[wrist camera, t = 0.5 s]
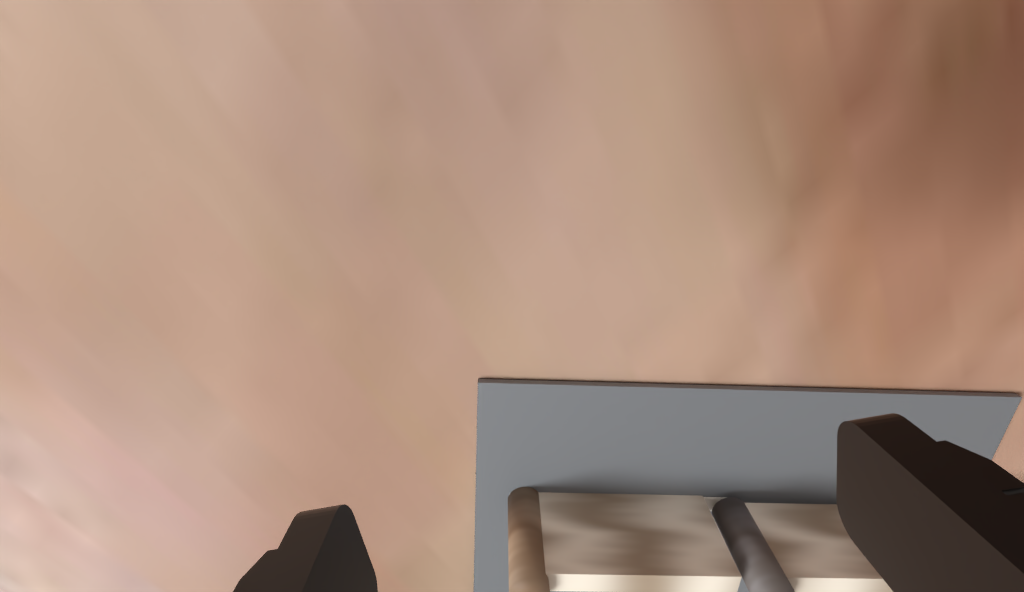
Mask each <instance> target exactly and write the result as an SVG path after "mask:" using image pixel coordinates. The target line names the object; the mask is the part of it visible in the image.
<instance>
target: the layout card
mask: <svg viewBox="0 0 1024 592" xmlns="http://www.w3.org/2000/svg"><path fill="white" fill-rule="evenodd" d="M1021 399H1022V397H1021V396H1019V395H1017V394H1016V393H986V392H949V391H912V390H875V389H839V388H802V387H765V386H728V385H691V384H654V383H617V382H580V381H543V380H506V379H478V403H477V454H476V504H475V555H474V592H509V564H508V496H509V494H510V493H511V492H512V491H513V490H514V489H516V488H519V487H531V488H533V489H535V490H537V491H538V492H550V493H599V494H649V495H698V496H703V498H704V500H705V502H706V504H707V506H708V508H709V510H710V512H711V514H712V509H713V506H714V505H715V504H716V503H717V502H718V501H720V500H721V499H724V498H727V497H736V498H739V499H741V500H742V501H743V502H744V503H788V504H837V500H836V487H837V432H838V428H839V426H840V424H841V423H842V422H844V421H849V420H855V419H861V418H867V417H873V416H879V415H885V414H891V413H895V414H899V415H901V416H903V417H905V418H906V419H908V420H909V421H910V422H912V423H913V424H914V425H915V426H917V427H918V428H919V429H921V430H922V431H923V432H925V433H926V434H927V435H929V436H930V437H931V438H933V439H934V440H935V441H936V442H938V441H944V440H946V441H949V442H951V443H953V444H956V445H958V446H960V447H962V448H965V449H967V450H969V451H972V452H974V453H976V454H979V455H981V456H983V457H985V458H988V459H990V460H992V458H993V456H994V454H995V452H996V450H997V448H998V446H999V444H1000V441H1001V439H1002V437H1003V435H1004V433H1005V431H1006V429H1007V427H1008V425H1009V423H1010V421H1011V419H1012V417H1013V415H1014V413H1015V411H1016V409H1017V407H1018V405H1019V403H1020V401H1021ZM717 527H718V526H717ZM718 529H719V528H718ZM719 531H720V530H719ZM720 533H721V532H720ZM731 556H732V555H731ZM732 558H733V557H732ZM733 560H734V559H733ZM734 562H735V561H734ZM550 592H574V591H550ZM737 592H749V590H748V588H747V586H746V584H745V582H744V580H743V578H741V581H740V585H739V588H738V591H737Z"/></svg>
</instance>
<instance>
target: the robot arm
mask: <svg viewBox="0 0 1024 592" xmlns="http://www.w3.org/2000/svg"><path fill="white" fill-rule="evenodd" d="M836 500H837V507H838V511H839V515H840V518H841V520H842V523H843V525H844V527H845V529H846V531H847V533H848V535H849V536H850V538H851V540H852V541H853V542H854V544H855V545H856V546H857V547H858V549H859V550H860V551H861V552H862V554H863V555H864V556H865V557H866V559H867V560H868V561H869V562H870V563H871V565H872V566H873V567H874V568H875V570H876V571H877V572H878V573H879V575H880V576H881V577H882V578H883V580H884V581H885V582H886V583H887V584H888V586H889V587H890V588H891V589H892V591H893V592H1024V483H1022V482H1021V481H1020V480H1018V479H1017V478H1015V477H1014V476H1013V475H1011V474H1010V473H1008V472H1007V471H1006V470H1004V469H1003V468H1001V467H1000V466H999V465H997V464H996V463H994V462H993V461H992V460H990V459H988V458H985V457H983V456H981V455H979V454H976V453H974V452H972V451H969V450H967V449H965V448H962V447H960V446H958V445H956V444H953V443H951V442H949V441H946V440H944V441H938V442H936V441H935V440H934V439H933V438H931V437H930V436H929V435H927V434H926V433H925V432H923V431H922V430H921V429H919V428H918V427H917V426H915V425H914V424H913V423H912V422H910V421H909V420H908V419H906V418H905V417H903V416H901V415H899V414H895V413H891V414H885V415H879V416H873V417H867V418H861V419H855V420H849V421H844V422H842V423H841V424H840V426H839V428H838V432H837V487H836ZM233 592H378V589H377V580H376V575H375V572H374V569H373V566H372V563H371V561H370V558H369V555H368V553H367V550H366V547H365V544H364V542H363V539H362V536H361V534H360V531H359V528H358V525H357V523H356V520H355V517H354V515H353V512H352V510H351V509H350V508H349V507H348V506H347V505H338V506H332V507H326V508H320V509H314V510H308V511H303V512H300V513H298V514H297V515H296V516H295V517H294V519H293V521H292V523H291V525H290V526H289V528H288V530H287V532H286V534H285V536H284V538H283V540H282V542H281V544H280V546H279V547H278V549H275V550H269V551H267V552H266V553H265V554H264V555H263V556H262V557H261V558H260V559H259V560H258V561H257V562H256V564H255V565H254V566H253V567H252V568H251V569H250V570H249V571H248V572H247V573H246V574H245V575H244V576H243V577H242V578H241V579H240V581H239V582H238V584H237V586H236V588H235V589H234V591H233Z"/></svg>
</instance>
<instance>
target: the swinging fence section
mask: <svg viewBox="0 0 1024 592" xmlns="http://www.w3.org/2000/svg"><path fill="white" fill-rule="evenodd" d="M712 516H713V518H714V520H715V522H716V524H717V526H718V528H719V530H720V532H721V535H722V537H723V539H724V541H725V543H726V545H727V547H728V549H729V551H730V553H731V555H732V557H733V559H734V561H735V564H736V566H737V568H738V570H739V572H740V574H741V576H742V578H743V580H744V582H745V584H746V586H747V588H748V590H749V592H893V591H892V589H891V588H890V587H889V586H888V584H887V583H886V582H885V581H884V580H883V578H882V577H881V576H880V575H879V573H878V572H877V571H876V570H875V568H874V567H873V566H872V565H871V563H870V562H869V561H868V560H867V559H866V557H865V556H864V555H863V554H862V552H861V551H860V550H859V549H858V547H857V546H856V545H855V544H854V542H853V541H852V540H851V538H850V536H849V535H848V533H847V531H846V529H845V527H844V525H843V523H842V520H841V518H840V515H839V511H838V507H837V504H788V503H744V502H743V501H742V500H741V499H739V498H736V497H727V498H724V499H721V500H720V501H718V502H717V503H716V504H715V505H714V506H713V509H712Z"/></svg>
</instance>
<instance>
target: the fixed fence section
mask: <svg viewBox="0 0 1024 592" xmlns="http://www.w3.org/2000/svg"><path fill="white" fill-rule="evenodd" d="M508 564H509V592H550V591H574V592H737V591H738V588H739V585H740V581H741V578H742V576H741V574H740V572H739V570H738V568H737V566H736V564H735V562H734V560H733V558H732V556H731V553H730V551H729V549H728V547H727V545H726V543H725V541H724V539H723V537H722V535H721V533H720V531H719V529H718V527H717V524H716V522H715V520H714V518H713V516H712V514H711V512H710V510H709V508H708V506H707V504H706V502H705V500H704V498H703V496H698V495H649V494H599V493H550V492H538V491H537V490H535V489H533V488H531V487H519V488H516V489H514V490H513V491H512V492H511V493H510V494H509V496H508Z"/></svg>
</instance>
